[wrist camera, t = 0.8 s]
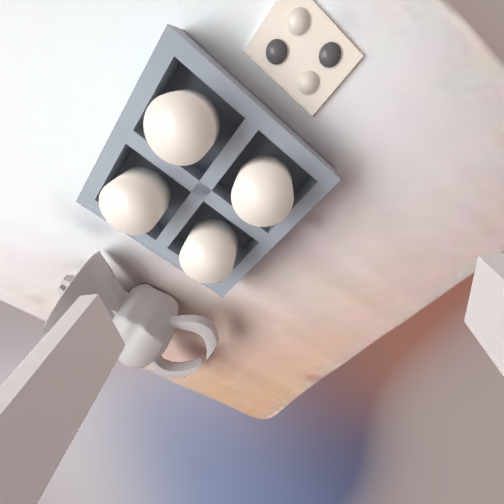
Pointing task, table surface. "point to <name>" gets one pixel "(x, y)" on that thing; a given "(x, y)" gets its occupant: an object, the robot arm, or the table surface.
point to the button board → (208, 157)
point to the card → (303, 52)
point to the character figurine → (136, 318)
